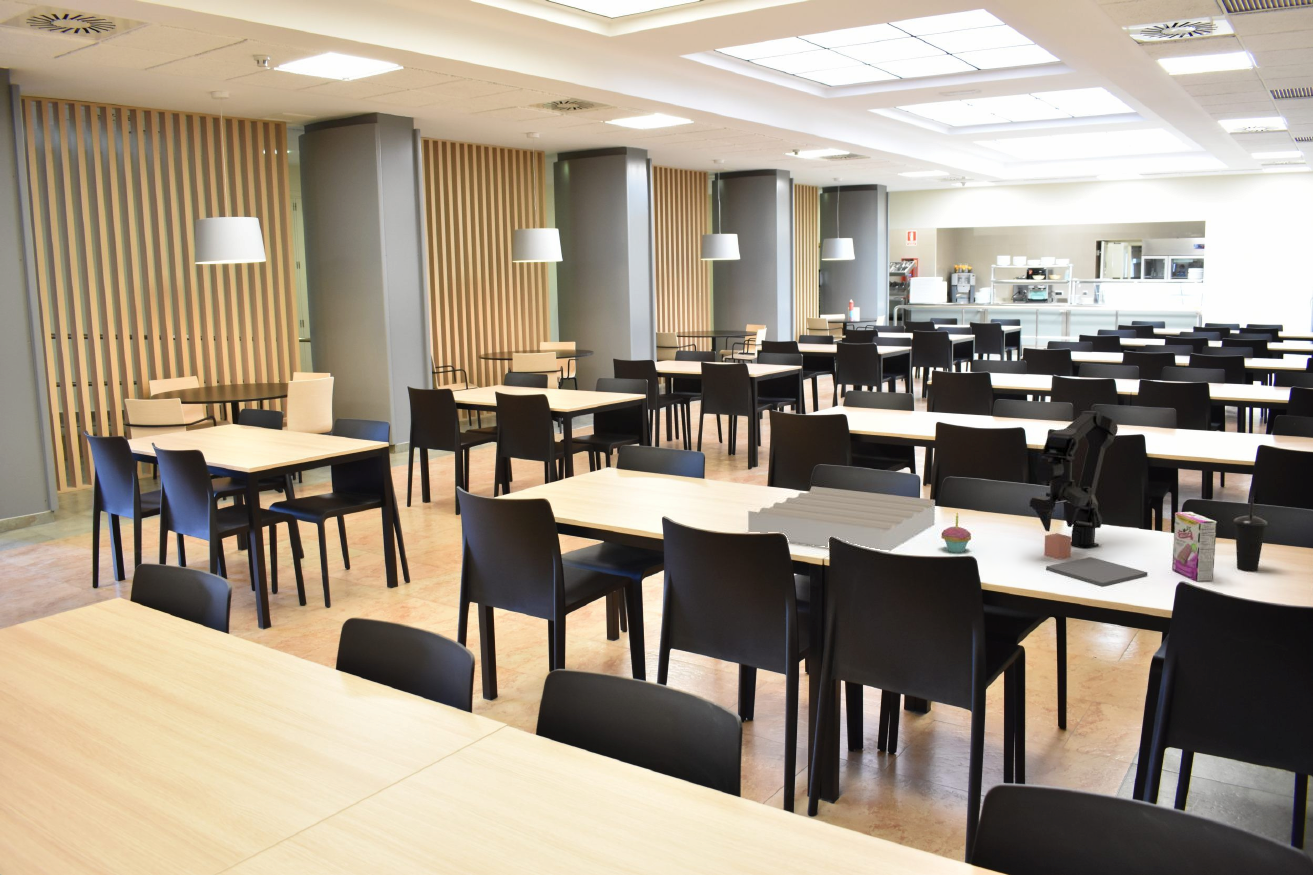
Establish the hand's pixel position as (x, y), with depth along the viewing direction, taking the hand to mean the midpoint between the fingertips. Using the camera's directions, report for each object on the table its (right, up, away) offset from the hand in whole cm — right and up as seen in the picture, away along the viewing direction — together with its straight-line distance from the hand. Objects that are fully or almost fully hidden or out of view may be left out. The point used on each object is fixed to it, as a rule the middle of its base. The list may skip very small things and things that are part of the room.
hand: (1058, 529), depth 283 cm
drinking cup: (+45, -10, -16) cm, 49 cm away
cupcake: (-27, -7, +9) cm, 30 cm away
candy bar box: (+27, -11, -20) cm, 36 cm away
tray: (-56, -5, +36) cm, 66 cm away
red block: (0, -8, +1) cm, 8 cm away
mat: (+4, -11, -16) cm, 20 cm away
